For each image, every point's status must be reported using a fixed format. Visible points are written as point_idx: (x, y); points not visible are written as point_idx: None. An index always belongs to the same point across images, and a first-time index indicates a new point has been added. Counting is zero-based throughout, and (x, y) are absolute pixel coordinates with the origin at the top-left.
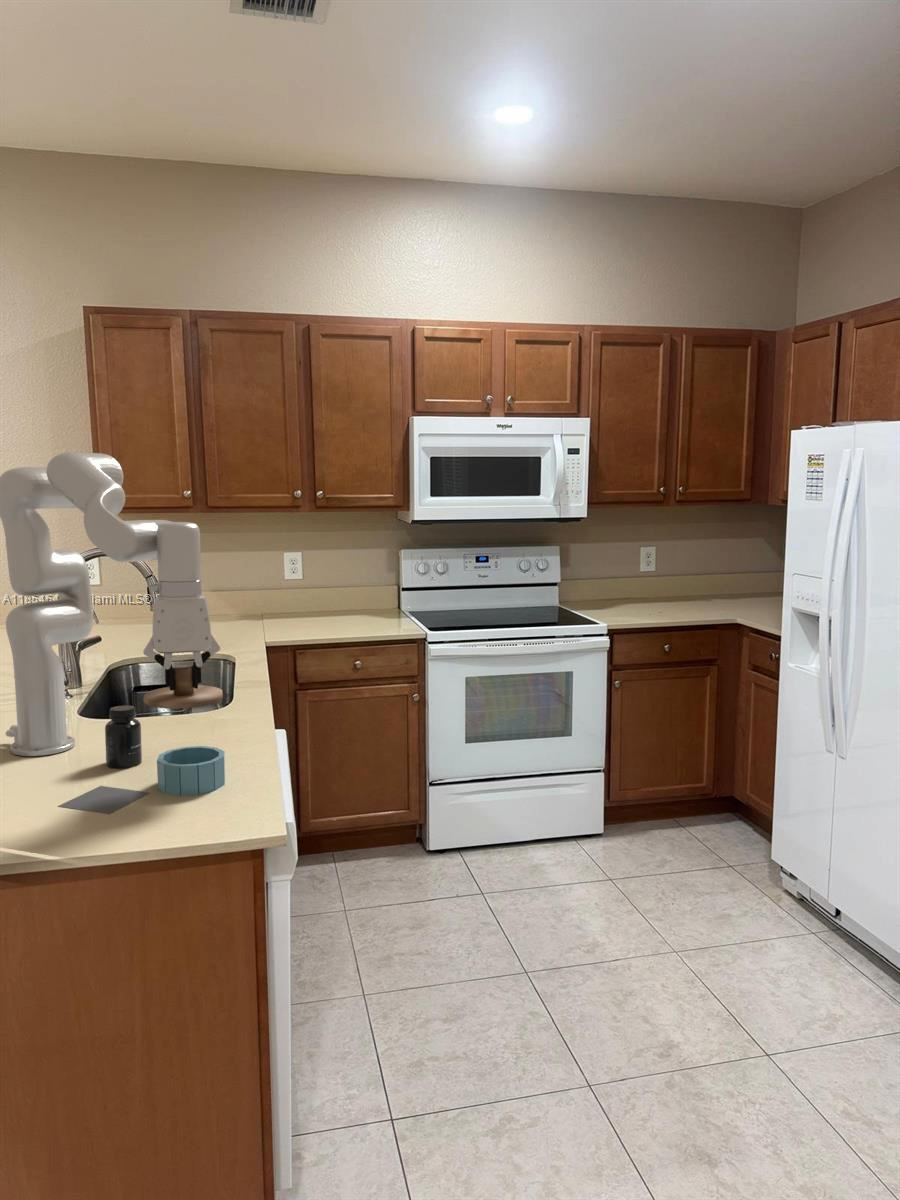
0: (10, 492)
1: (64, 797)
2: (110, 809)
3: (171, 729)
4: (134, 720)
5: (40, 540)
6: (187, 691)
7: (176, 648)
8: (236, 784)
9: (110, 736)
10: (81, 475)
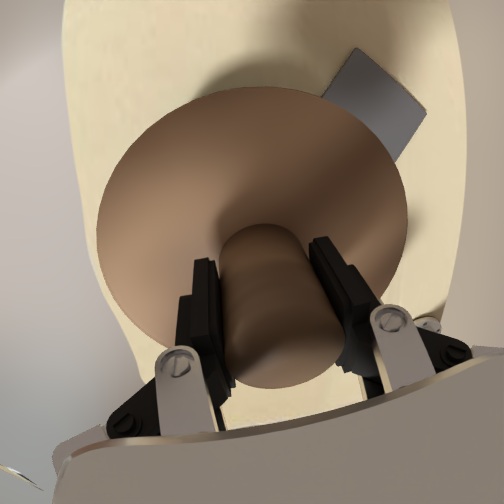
0: None
1: (417, 160)
2: (358, 67)
3: (273, 394)
4: None
5: None
6: (244, 237)
7: (406, 427)
8: None
9: (379, 299)
10: None
